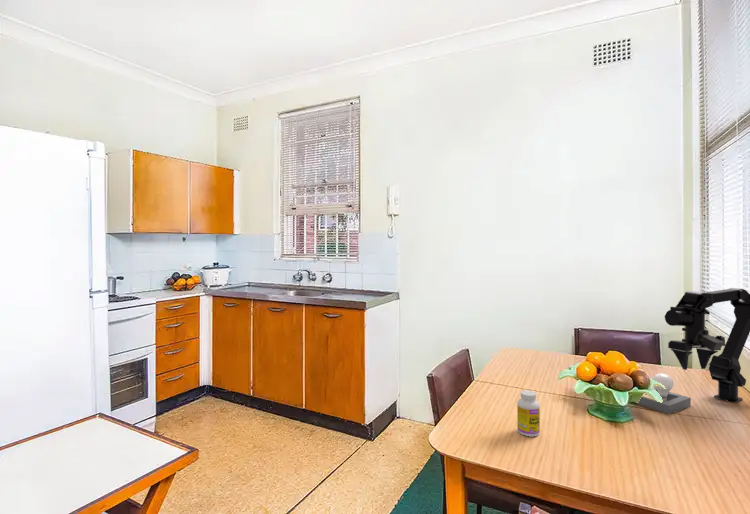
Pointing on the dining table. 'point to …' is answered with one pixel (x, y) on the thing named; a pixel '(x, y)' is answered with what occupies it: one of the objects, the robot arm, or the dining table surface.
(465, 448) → the dining table surface
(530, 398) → the supplement bottle
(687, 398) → the socket block
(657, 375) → the lightbulb
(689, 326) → the robot arm
